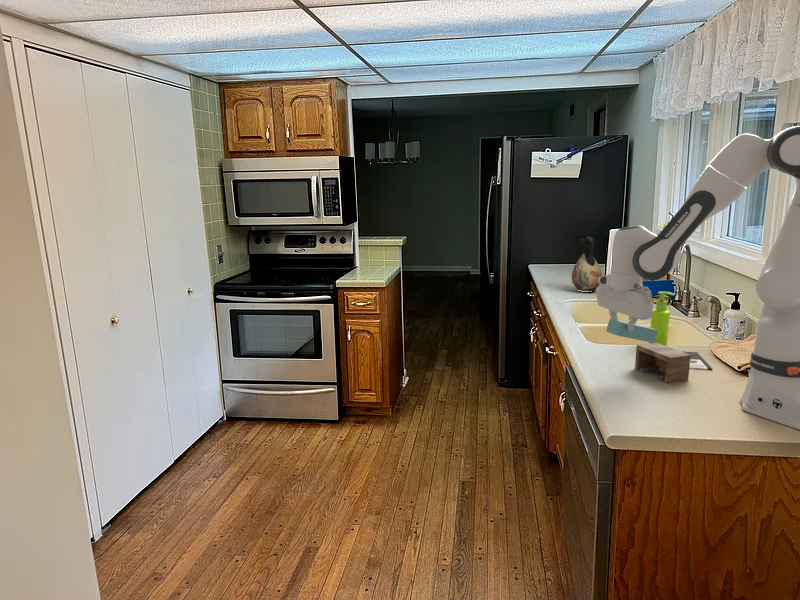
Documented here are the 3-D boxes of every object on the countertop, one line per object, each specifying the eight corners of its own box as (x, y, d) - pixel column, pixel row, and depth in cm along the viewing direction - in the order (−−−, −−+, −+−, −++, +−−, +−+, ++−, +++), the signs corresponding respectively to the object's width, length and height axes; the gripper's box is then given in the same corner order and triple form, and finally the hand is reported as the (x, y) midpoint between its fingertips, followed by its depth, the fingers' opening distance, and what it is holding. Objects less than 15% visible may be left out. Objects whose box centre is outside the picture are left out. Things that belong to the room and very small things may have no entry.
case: (642, 338, 175) (646, 326, 175) (654, 343, 171) (658, 330, 170) (606, 331, 171) (609, 318, 170) (617, 335, 166) (621, 322, 165)
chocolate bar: (697, 352, 198) (712, 368, 181) (696, 354, 198) (712, 371, 181) (669, 350, 200) (681, 366, 183) (668, 353, 200) (681, 369, 183)
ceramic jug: (566, 289, 313) (569, 234, 307) (594, 288, 314) (597, 234, 308) (577, 295, 297) (581, 237, 291) (606, 294, 298) (611, 237, 291)
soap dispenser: (667, 349, 203) (673, 294, 199) (647, 346, 207) (652, 292, 203) (671, 345, 208) (676, 291, 203) (650, 342, 211) (655, 289, 207)
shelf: (688, 380, 172) (690, 355, 170) (667, 383, 170) (669, 357, 168) (654, 366, 185) (656, 342, 183) (634, 368, 183) (636, 344, 181)
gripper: (660, 287, 157) (656, 335, 160) (612, 275, 176) (608, 318, 179) (642, 288, 155) (637, 337, 158) (594, 276, 174) (591, 320, 177)
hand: (621, 327), depth 169 cm, fingers closed on case, 5 cm apart
